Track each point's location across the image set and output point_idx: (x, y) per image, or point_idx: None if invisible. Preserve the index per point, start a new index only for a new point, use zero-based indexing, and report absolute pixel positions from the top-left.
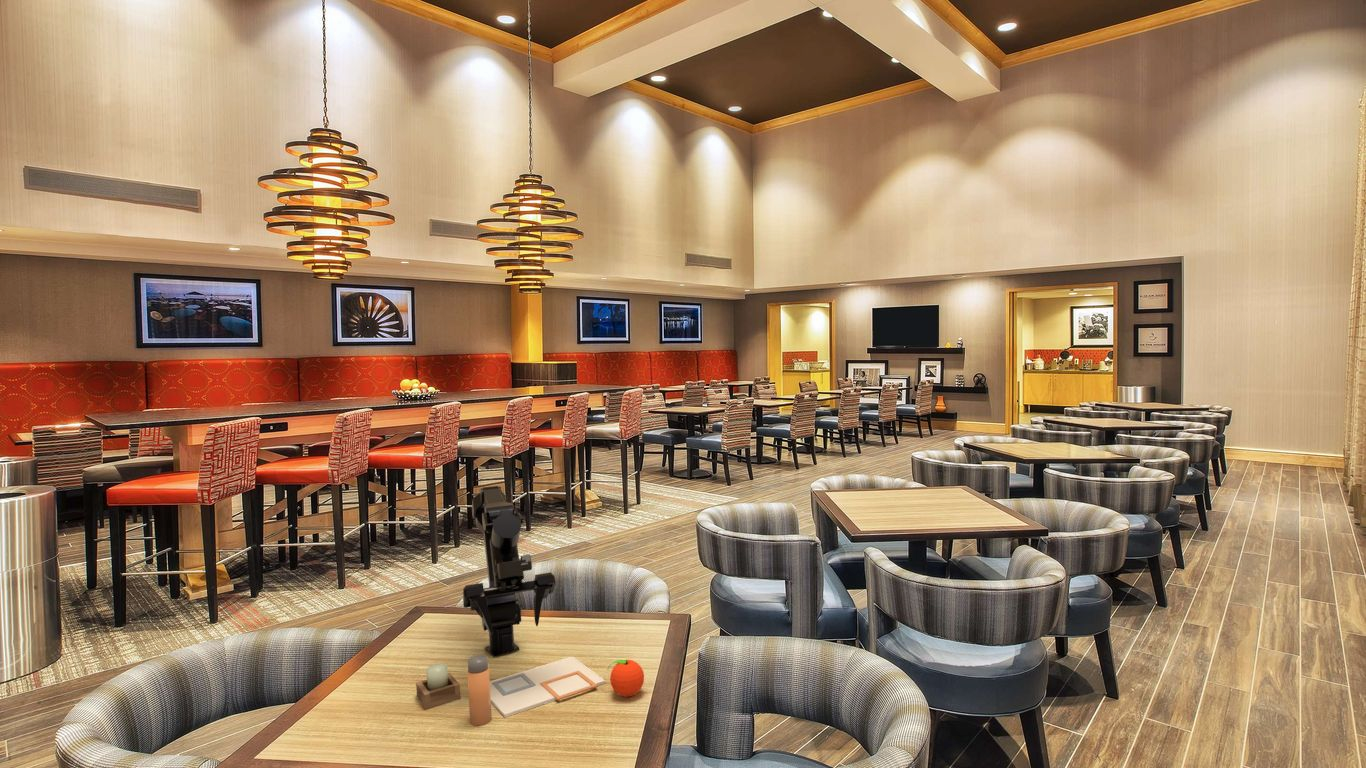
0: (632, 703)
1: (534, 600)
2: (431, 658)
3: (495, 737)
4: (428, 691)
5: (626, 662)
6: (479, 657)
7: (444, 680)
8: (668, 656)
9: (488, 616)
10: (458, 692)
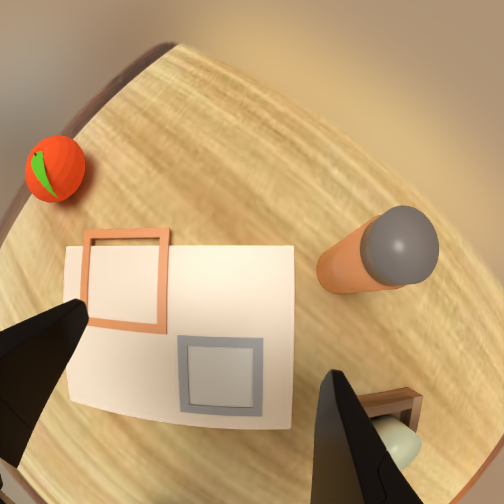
0: (86, 150)
1: (8, 431)
2: None
3: (332, 184)
4: None
5: (37, 152)
6: (401, 253)
7: (381, 427)
8: None
9: (360, 449)
10: None
